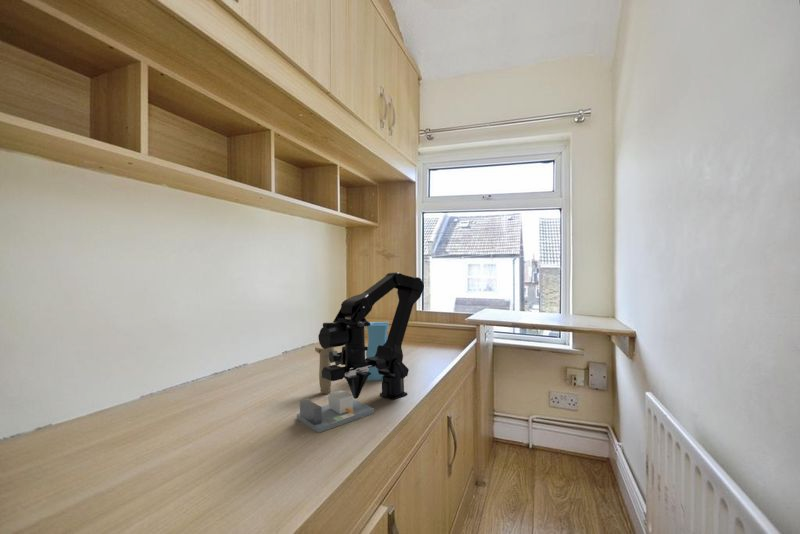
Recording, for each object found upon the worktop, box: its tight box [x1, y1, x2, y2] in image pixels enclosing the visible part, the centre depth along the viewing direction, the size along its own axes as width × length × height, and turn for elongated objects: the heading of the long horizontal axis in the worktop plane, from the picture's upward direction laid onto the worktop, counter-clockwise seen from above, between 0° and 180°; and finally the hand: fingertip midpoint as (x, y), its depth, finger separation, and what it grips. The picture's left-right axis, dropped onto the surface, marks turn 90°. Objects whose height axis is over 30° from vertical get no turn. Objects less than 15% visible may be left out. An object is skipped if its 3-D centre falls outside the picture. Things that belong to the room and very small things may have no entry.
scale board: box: [296, 398, 375, 434], centre depth 93 cm, size 17×12×2 cm
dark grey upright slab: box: [299, 398, 322, 425], centre depth 88 cm, size 2×8×4 cm, turn 42°
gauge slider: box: [327, 390, 354, 414], centre depth 93 cm, size 4×9×4 cm, turn 42°
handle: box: [314, 345, 335, 395], centre depth 113 cm, size 5×6×15 cm
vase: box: [365, 321, 390, 381], centre depth 129 cm, size 8×8×20 cm
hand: (355, 398), depth 98 cm, fingers closed
